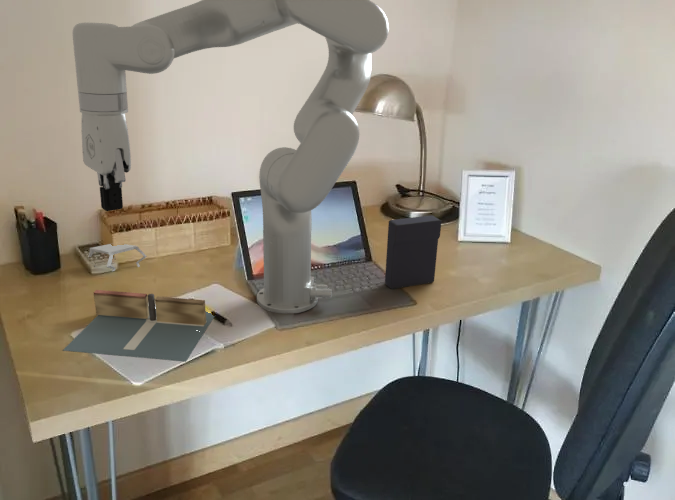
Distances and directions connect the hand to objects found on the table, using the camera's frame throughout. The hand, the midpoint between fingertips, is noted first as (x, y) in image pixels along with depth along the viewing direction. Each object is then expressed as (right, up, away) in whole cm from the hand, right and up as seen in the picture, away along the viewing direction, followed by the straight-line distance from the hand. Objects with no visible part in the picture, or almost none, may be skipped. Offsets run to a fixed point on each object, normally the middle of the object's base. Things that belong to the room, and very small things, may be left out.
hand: (112, 208), depth 108 cm
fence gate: (-2, -20, +10) cm, 22 cm away
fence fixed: (+9, -21, +9) cm, 24 cm away
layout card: (+4, -22, +6) cm, 23 cm away
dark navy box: (+56, -15, +29) cm, 64 cm away
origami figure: (-10, -12, +32) cm, 36 cm away
